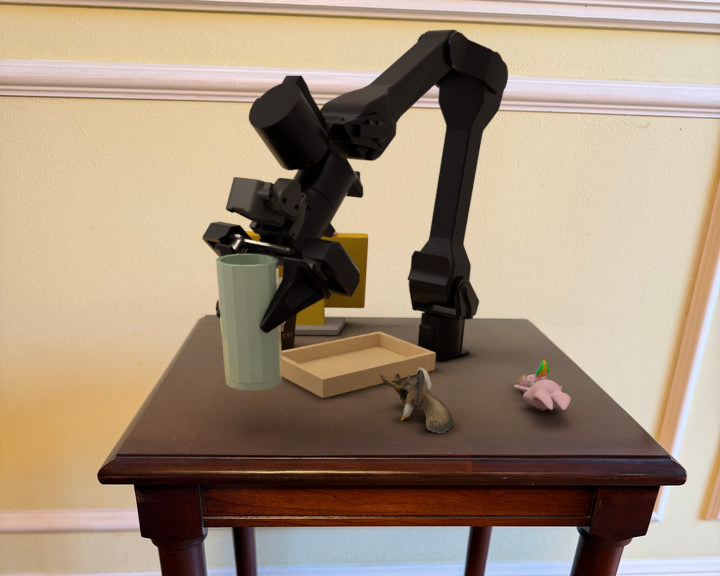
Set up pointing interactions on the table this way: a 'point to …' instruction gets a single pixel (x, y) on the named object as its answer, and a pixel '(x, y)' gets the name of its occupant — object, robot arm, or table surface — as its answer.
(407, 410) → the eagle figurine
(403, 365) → the tray
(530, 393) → the rabbit figure
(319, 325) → the toy computer monitor
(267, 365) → the tumbler
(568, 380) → the table surface
